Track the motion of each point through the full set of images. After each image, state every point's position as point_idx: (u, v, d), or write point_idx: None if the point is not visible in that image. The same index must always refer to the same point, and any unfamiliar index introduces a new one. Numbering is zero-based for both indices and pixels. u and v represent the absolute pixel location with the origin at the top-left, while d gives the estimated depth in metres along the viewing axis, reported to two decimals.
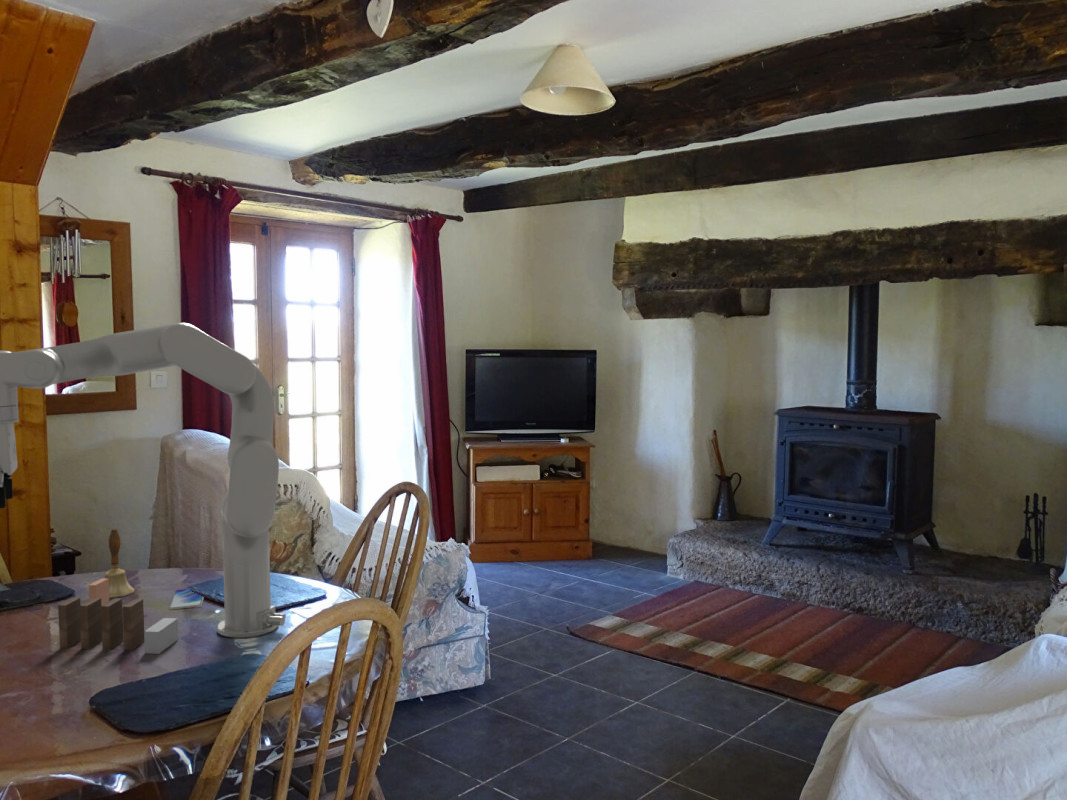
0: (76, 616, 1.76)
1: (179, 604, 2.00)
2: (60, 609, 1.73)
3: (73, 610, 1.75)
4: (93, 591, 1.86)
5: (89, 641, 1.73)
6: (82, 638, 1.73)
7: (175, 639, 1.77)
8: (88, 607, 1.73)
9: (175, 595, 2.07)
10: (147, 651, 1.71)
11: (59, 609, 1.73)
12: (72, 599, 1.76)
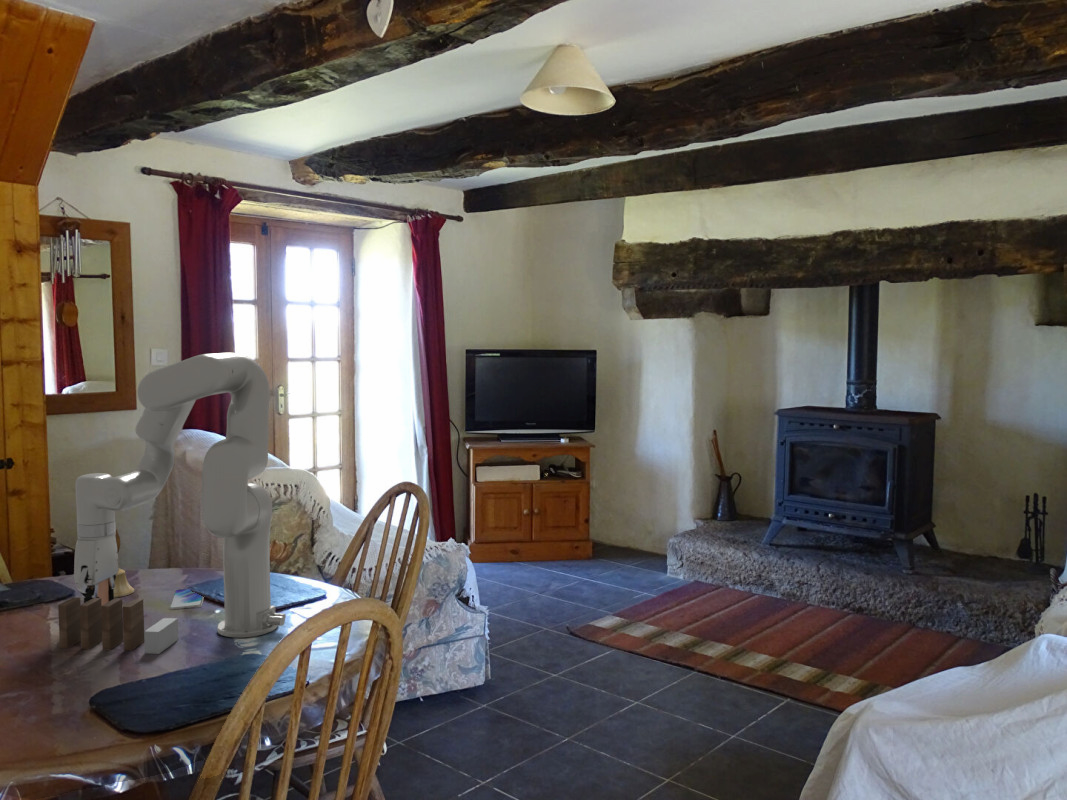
0: (76, 616, 1.76)
1: (180, 604, 2.00)
2: (60, 609, 1.73)
3: (73, 610, 1.75)
4: None
5: (89, 641, 1.73)
6: (82, 638, 1.73)
7: (175, 639, 1.77)
8: (88, 607, 1.73)
9: (175, 595, 2.07)
10: (147, 651, 1.71)
11: (59, 609, 1.73)
12: (72, 599, 1.76)
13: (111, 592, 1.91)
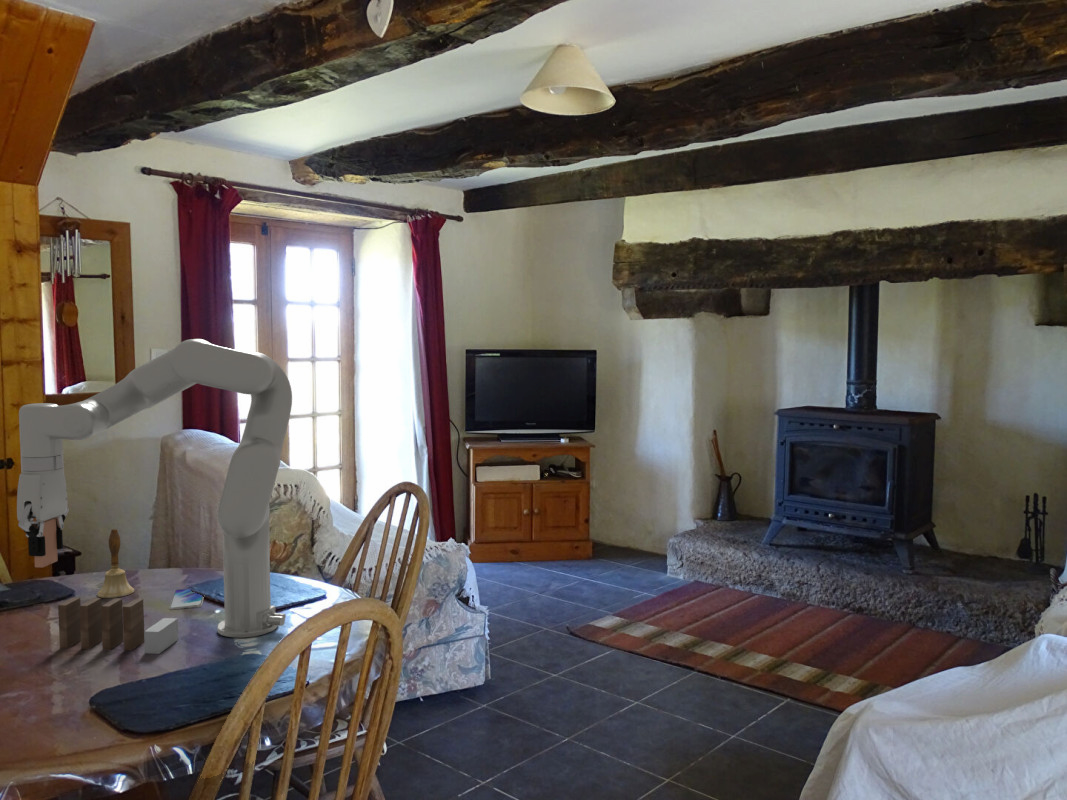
0: (76, 616, 1.76)
1: (180, 604, 2.00)
2: (60, 609, 1.73)
3: (73, 610, 1.75)
4: None
5: (89, 641, 1.73)
6: (82, 638, 1.73)
7: (175, 639, 1.77)
8: (88, 607, 1.73)
9: (175, 595, 2.07)
10: (147, 651, 1.71)
11: (59, 609, 1.73)
12: (72, 599, 1.76)
13: (59, 533, 1.77)
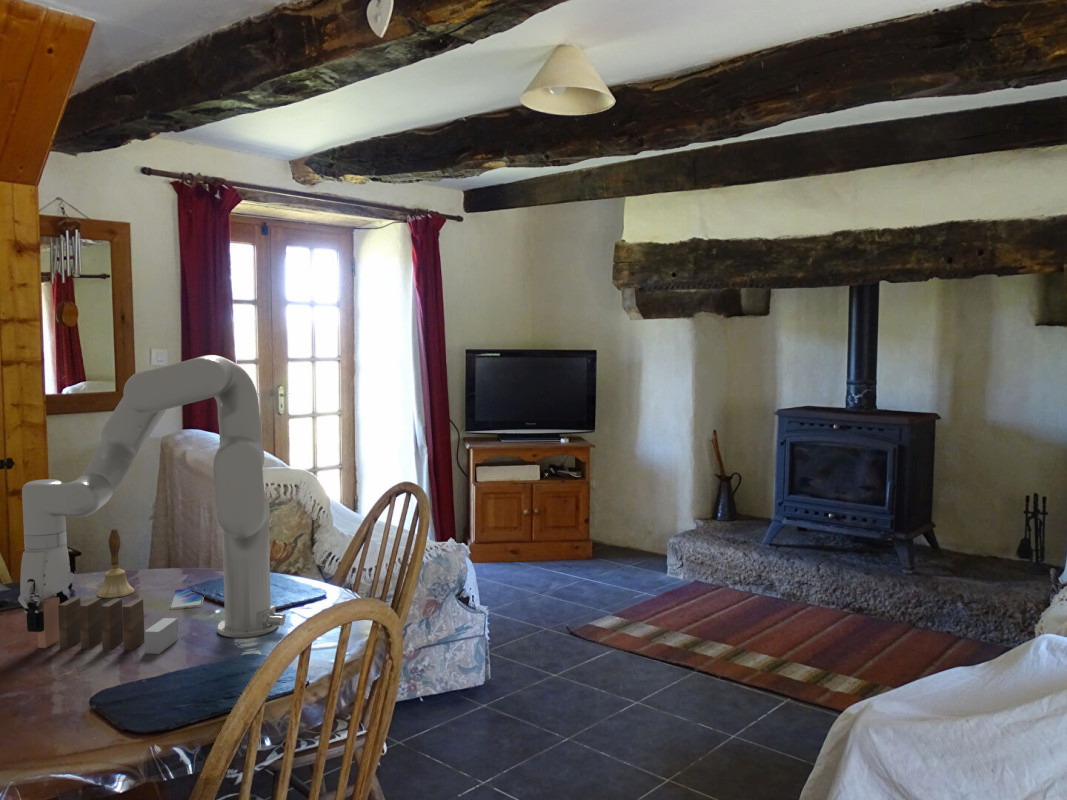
0: (76, 616, 1.76)
1: (180, 604, 2.00)
2: (60, 609, 1.73)
3: (73, 610, 1.75)
4: (41, 611, 1.73)
5: (89, 641, 1.73)
6: (82, 638, 1.73)
7: (175, 639, 1.77)
8: (88, 607, 1.73)
9: (175, 595, 2.07)
10: (147, 651, 1.71)
11: (59, 609, 1.73)
12: (72, 599, 1.76)
13: None
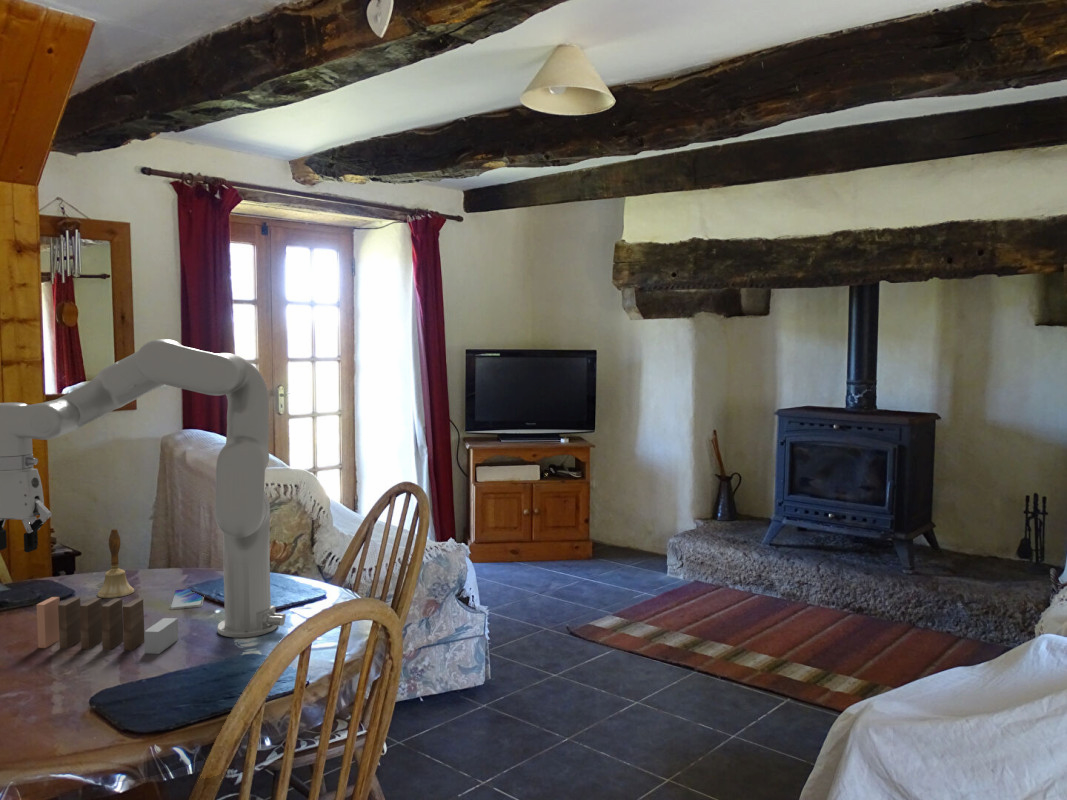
0: (76, 616, 1.76)
1: (180, 604, 2.00)
2: (60, 609, 1.73)
3: (73, 610, 1.75)
4: (41, 611, 1.73)
5: (89, 641, 1.73)
6: (82, 638, 1.73)
7: (175, 639, 1.77)
8: (88, 607, 1.73)
9: (175, 595, 2.07)
10: (147, 651, 1.71)
11: (59, 609, 1.73)
12: (72, 599, 1.76)
13: (24, 536, 1.73)
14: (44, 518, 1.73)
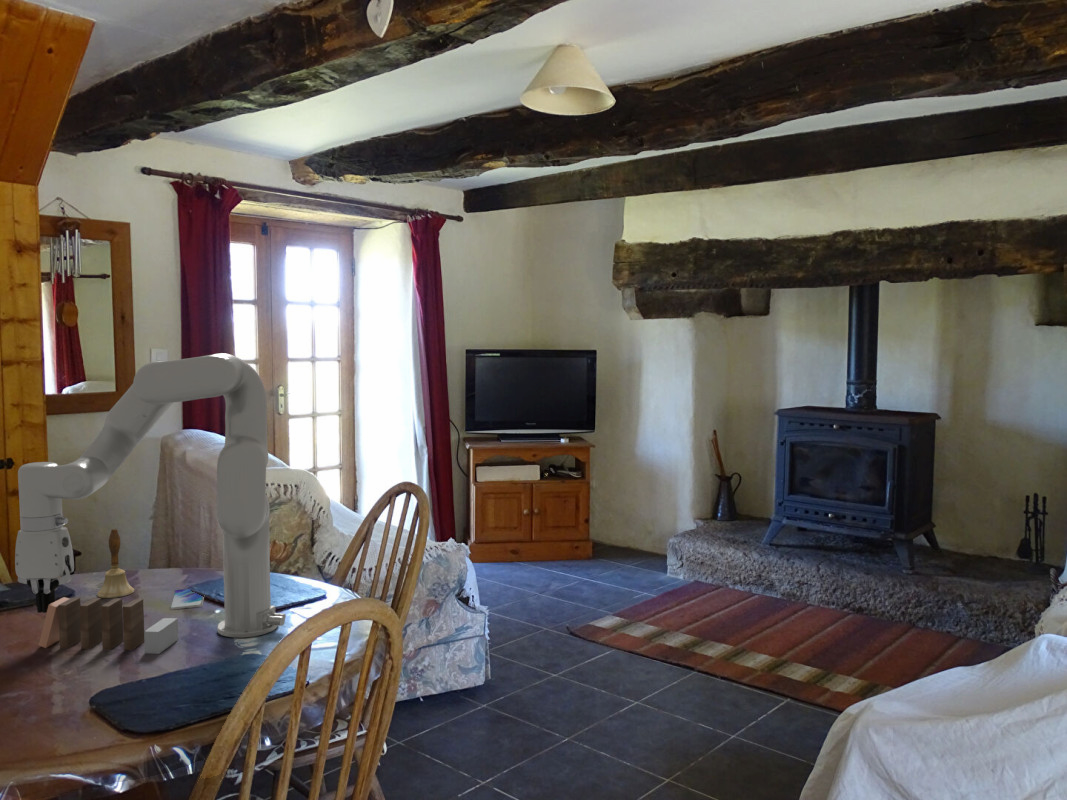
0: (76, 616, 1.76)
1: (180, 604, 2.00)
2: (60, 609, 1.73)
3: (73, 610, 1.75)
4: (51, 612, 1.73)
5: (89, 641, 1.73)
6: (82, 638, 1.73)
7: (175, 639, 1.77)
8: (88, 607, 1.73)
9: (175, 595, 2.07)
10: (147, 651, 1.71)
11: (59, 609, 1.73)
12: (72, 599, 1.76)
13: (41, 597, 1.74)
14: (62, 582, 1.74)
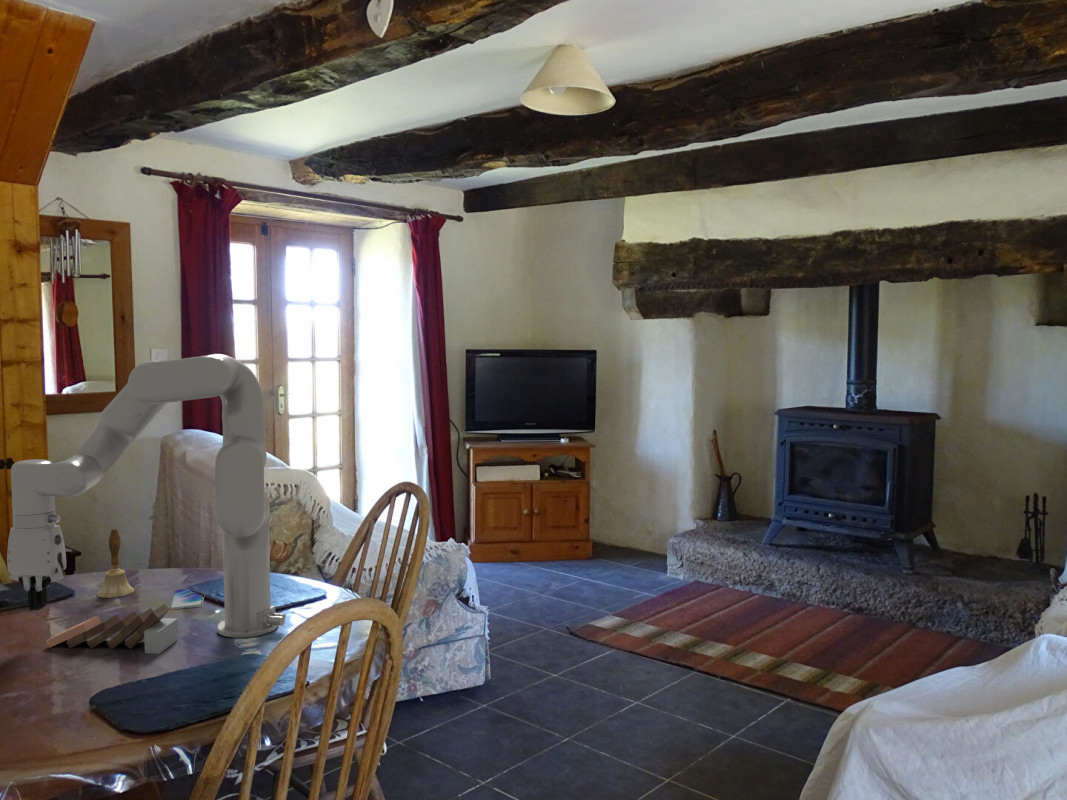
0: None
1: (180, 604, 2.00)
2: (100, 626, 1.72)
3: None
4: (79, 631, 1.73)
5: None
6: (96, 638, 1.73)
7: (175, 639, 1.77)
8: None
9: (175, 595, 2.07)
10: (147, 651, 1.71)
11: (100, 625, 1.72)
12: (114, 619, 1.76)
13: (33, 594, 1.74)
14: (54, 580, 1.74)
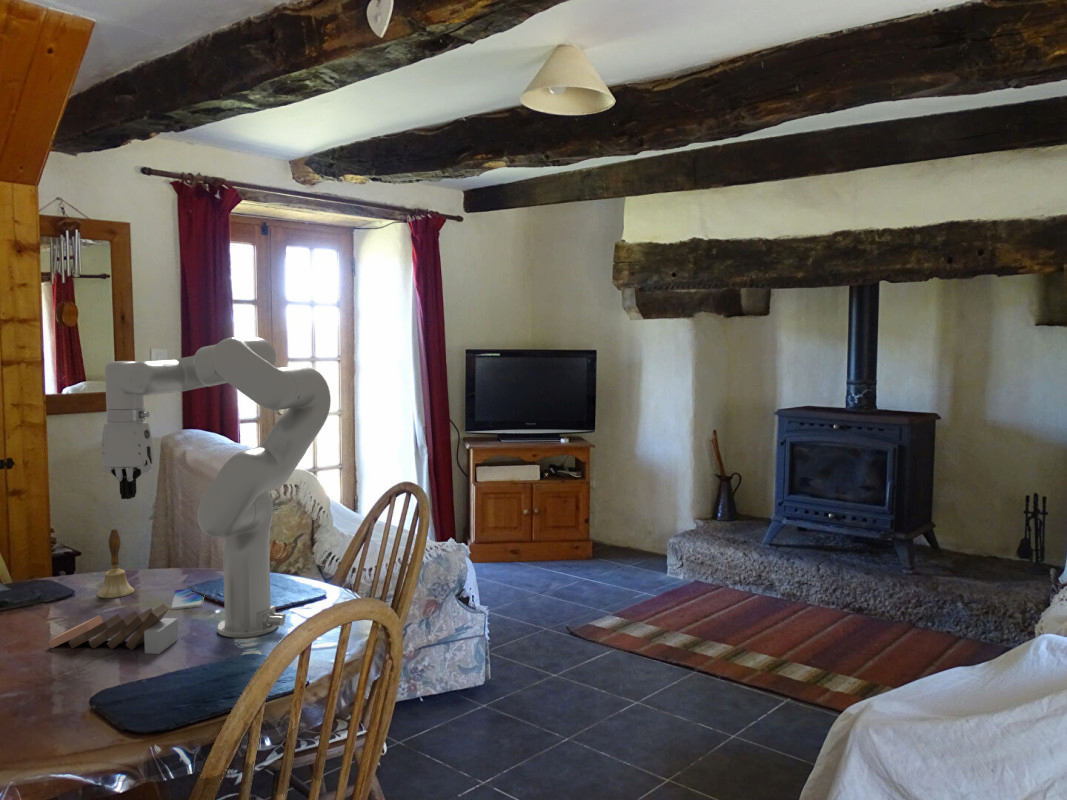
0: None
1: (180, 604, 2.00)
2: (102, 625, 1.72)
3: None
4: (82, 630, 1.73)
5: (99, 644, 1.73)
6: (97, 638, 1.73)
7: (175, 639, 1.77)
8: None
9: (175, 595, 2.07)
10: (147, 651, 1.71)
11: (101, 624, 1.72)
12: (116, 618, 1.76)
13: (125, 484, 1.89)
14: (144, 471, 1.90)
